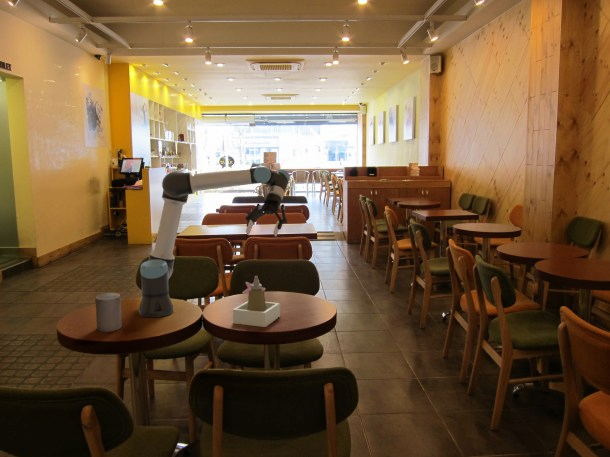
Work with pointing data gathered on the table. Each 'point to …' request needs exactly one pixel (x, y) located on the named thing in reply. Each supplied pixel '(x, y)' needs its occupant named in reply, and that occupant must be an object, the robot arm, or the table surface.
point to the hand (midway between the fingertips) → (260, 233)
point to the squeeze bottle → (256, 297)
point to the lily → (250, 288)
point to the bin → (256, 315)
